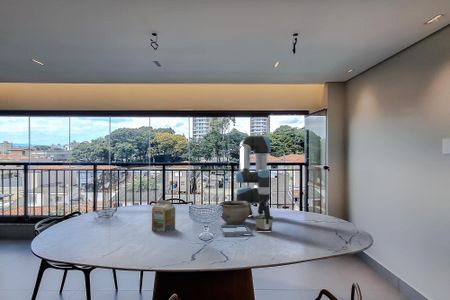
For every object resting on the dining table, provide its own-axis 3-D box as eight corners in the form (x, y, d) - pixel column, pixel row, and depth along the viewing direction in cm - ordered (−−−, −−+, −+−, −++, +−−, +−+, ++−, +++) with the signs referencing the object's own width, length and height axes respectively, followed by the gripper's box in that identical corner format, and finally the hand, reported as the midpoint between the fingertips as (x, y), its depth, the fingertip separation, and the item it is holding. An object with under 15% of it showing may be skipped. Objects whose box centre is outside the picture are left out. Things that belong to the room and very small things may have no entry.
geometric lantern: (90, 217, 224) (91, 172, 226) (104, 214, 239) (105, 171, 241) (107, 219, 219) (108, 172, 221) (121, 215, 234) (122, 171, 236)
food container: (273, 230, 191) (273, 215, 191) (273, 232, 184) (273, 216, 185) (254, 229, 192) (254, 214, 192) (254, 232, 186) (254, 216, 186)
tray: (219, 229, 193) (219, 225, 193) (245, 228, 195) (245, 224, 195) (223, 236, 175) (223, 232, 175) (251, 235, 178) (251, 231, 178)
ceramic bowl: (250, 227, 198) (250, 205, 199) (218, 226, 199) (218, 204, 199) (248, 220, 220) (248, 200, 221) (219, 219, 221) (219, 200, 221)
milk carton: (151, 230, 187) (152, 201, 188) (162, 227, 197) (162, 198, 197) (164, 232, 182) (165, 202, 183) (175, 229, 192) (175, 200, 192)
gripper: (253, 191, 200) (253, 222, 200) (263, 196, 176) (263, 231, 175) (264, 191, 202) (263, 222, 201) (275, 195, 177) (275, 231, 176)
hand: (263, 226), depth 188 cm, fingers open, 13 cm apart
